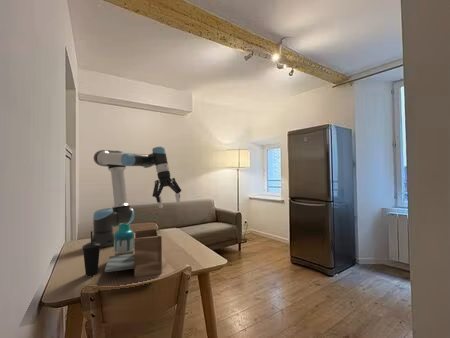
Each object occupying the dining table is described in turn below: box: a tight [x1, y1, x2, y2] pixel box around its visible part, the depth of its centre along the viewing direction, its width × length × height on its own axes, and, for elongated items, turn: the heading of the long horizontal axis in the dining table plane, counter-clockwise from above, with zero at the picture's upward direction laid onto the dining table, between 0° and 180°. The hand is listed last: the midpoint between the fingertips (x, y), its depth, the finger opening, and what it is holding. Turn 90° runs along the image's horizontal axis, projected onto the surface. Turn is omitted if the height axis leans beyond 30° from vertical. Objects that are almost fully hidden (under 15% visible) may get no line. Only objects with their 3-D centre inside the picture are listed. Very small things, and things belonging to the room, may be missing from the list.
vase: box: [113, 223, 135, 256], centre depth 135 cm, size 11×11×19 cm
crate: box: [104, 228, 163, 278], centre depth 119 cm, size 18×24×17 cm
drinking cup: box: [81, 231, 101, 277], centre depth 114 cm, size 8×8×20 cm
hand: (170, 205), depth 148 cm, fingers open, 13 cm apart
